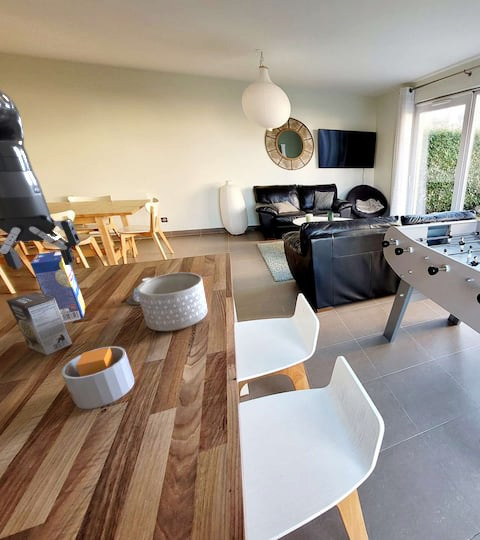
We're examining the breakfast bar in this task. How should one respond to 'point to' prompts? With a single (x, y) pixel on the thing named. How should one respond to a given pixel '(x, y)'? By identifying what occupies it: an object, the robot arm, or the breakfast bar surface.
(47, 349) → the coffee box
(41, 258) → the beverage box
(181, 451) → the breakfast bar surface
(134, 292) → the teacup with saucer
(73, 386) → the ceramic bowl
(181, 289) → the planter
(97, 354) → the juice carton
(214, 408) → the breakfast bar surface
